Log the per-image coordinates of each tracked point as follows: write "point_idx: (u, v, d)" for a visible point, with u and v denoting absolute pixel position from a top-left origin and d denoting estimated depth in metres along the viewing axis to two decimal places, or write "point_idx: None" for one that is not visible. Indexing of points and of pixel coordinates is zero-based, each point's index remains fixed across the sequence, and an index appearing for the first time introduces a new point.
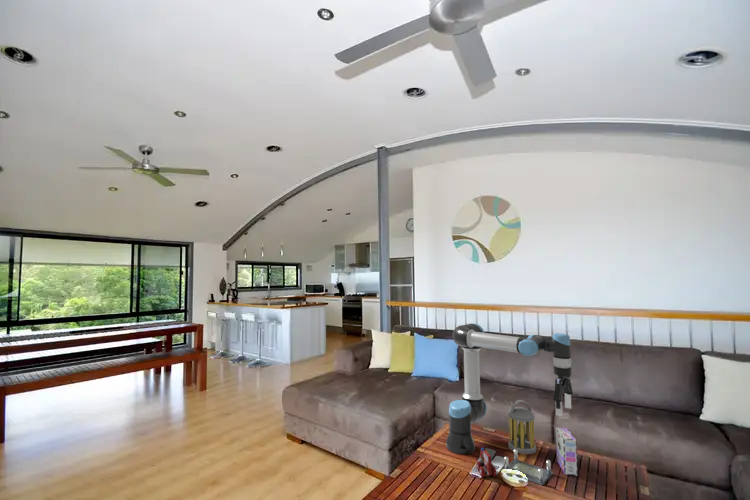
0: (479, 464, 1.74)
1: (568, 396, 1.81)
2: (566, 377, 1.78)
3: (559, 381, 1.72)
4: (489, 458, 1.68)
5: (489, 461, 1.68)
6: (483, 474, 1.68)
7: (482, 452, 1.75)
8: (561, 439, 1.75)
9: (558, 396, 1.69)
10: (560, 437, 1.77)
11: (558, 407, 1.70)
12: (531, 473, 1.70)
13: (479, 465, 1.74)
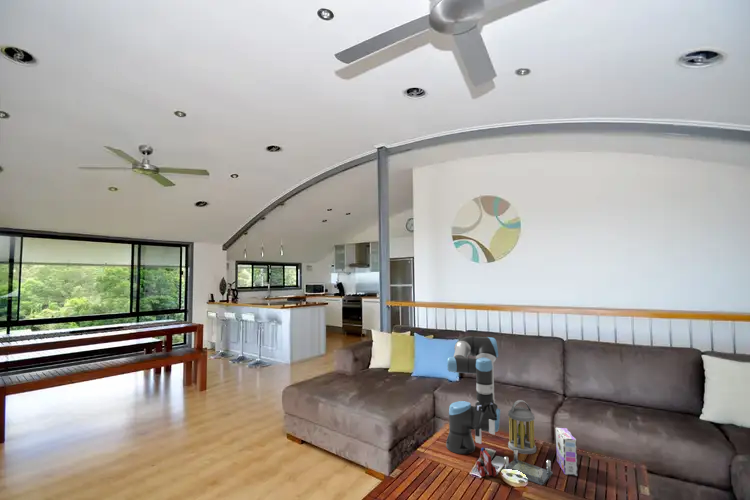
0: (479, 464, 1.74)
1: (492, 422, 1.79)
2: (488, 403, 1.76)
3: (479, 408, 1.70)
4: (489, 458, 1.68)
5: (489, 461, 1.68)
6: (483, 474, 1.68)
7: (482, 452, 1.75)
8: (561, 439, 1.75)
9: (476, 423, 1.67)
10: (560, 437, 1.77)
11: (477, 434, 1.68)
12: (531, 473, 1.70)
13: (479, 465, 1.74)
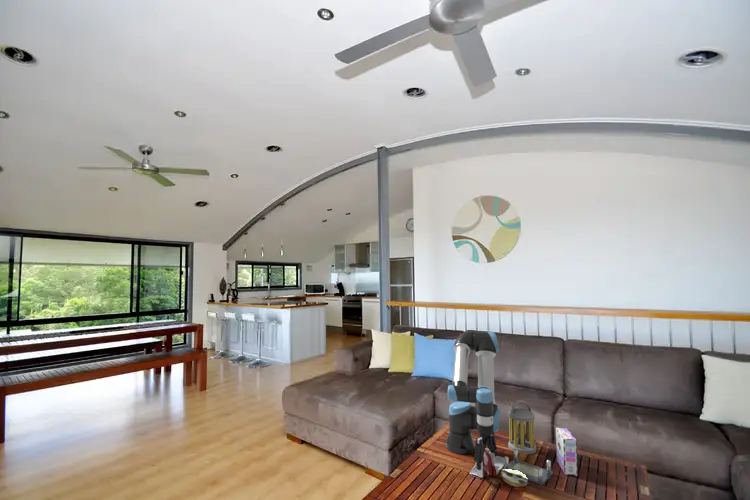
0: None
1: (492, 455, 1.77)
2: None
3: (479, 441, 1.69)
4: (489, 458, 1.68)
5: (489, 461, 1.68)
6: (483, 474, 1.68)
7: None
8: (561, 439, 1.75)
9: (478, 457, 1.67)
10: (560, 437, 1.77)
11: (478, 468, 1.68)
12: (531, 473, 1.70)
13: None
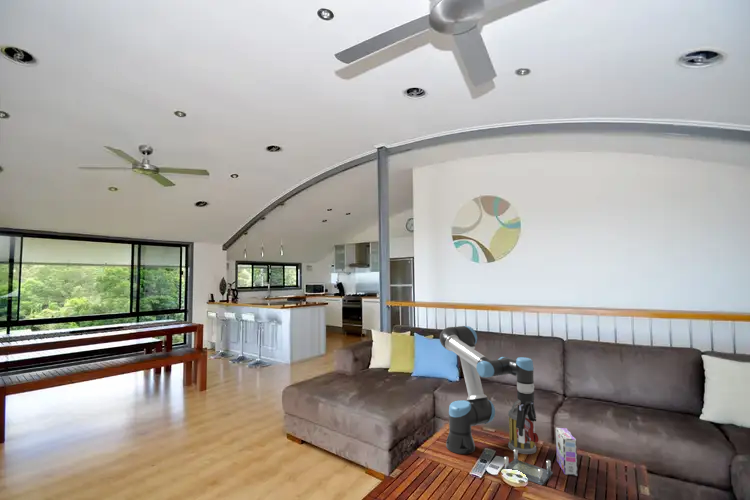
0: None
1: None
2: (529, 402, 1.76)
3: (521, 408, 1.70)
4: (531, 424, 1.69)
5: (531, 427, 1.69)
6: (525, 440, 1.70)
7: None
8: (561, 439, 1.75)
9: (520, 423, 1.68)
10: (560, 437, 1.77)
11: (520, 434, 1.69)
12: (531, 473, 1.70)
13: None
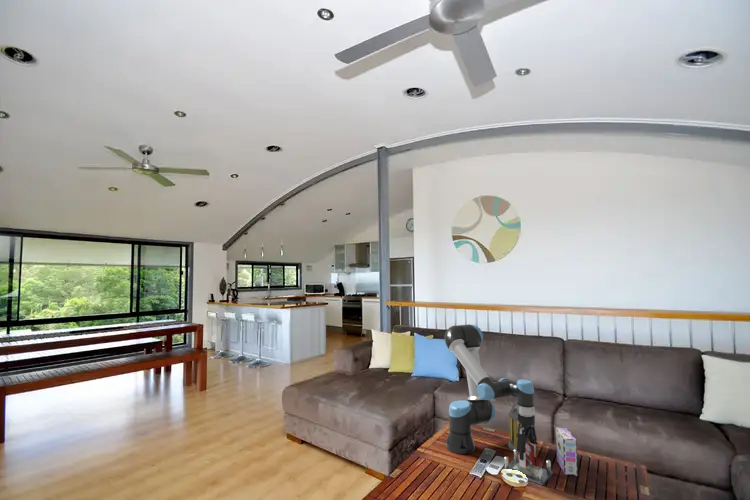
0: None
1: None
2: (530, 425, 1.76)
3: (522, 432, 1.70)
4: (532, 448, 1.68)
5: (532, 451, 1.68)
6: (526, 464, 1.69)
7: None
8: (561, 439, 1.75)
9: (521, 448, 1.68)
10: (560, 437, 1.77)
11: (521, 458, 1.69)
12: (531, 473, 1.70)
13: None
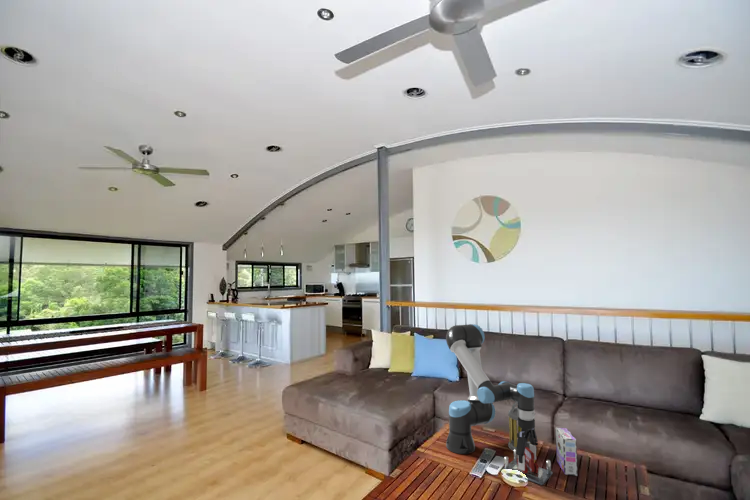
0: None
1: (533, 447, 1.78)
2: (530, 429, 1.76)
3: (522, 434, 1.69)
4: (532, 455, 1.68)
5: (532, 458, 1.68)
6: (526, 471, 1.69)
7: None
8: (561, 439, 1.75)
9: (520, 450, 1.67)
10: (560, 437, 1.77)
11: (520, 461, 1.68)
12: (531, 473, 1.70)
13: None
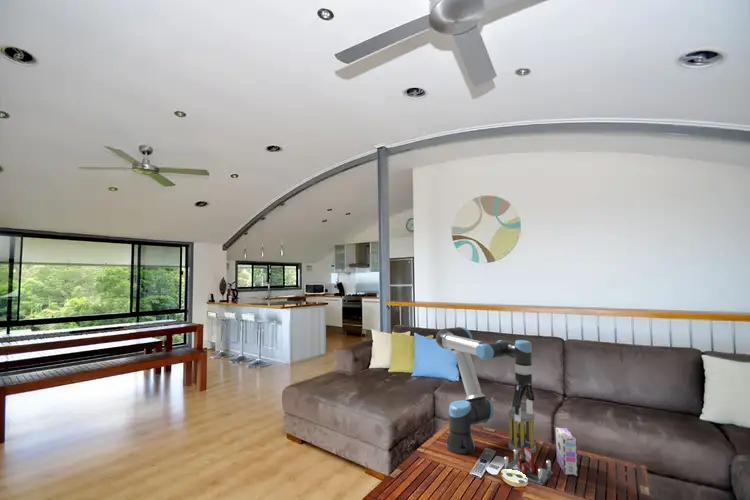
0: (520, 461, 1.75)
1: (529, 402, 1.83)
2: (527, 383, 1.80)
3: (518, 388, 1.74)
4: (532, 455, 1.68)
5: (532, 458, 1.68)
6: (526, 471, 1.69)
7: (523, 449, 1.76)
8: (561, 439, 1.75)
9: (516, 402, 1.72)
10: (560, 437, 1.77)
11: (517, 413, 1.73)
12: (531, 473, 1.70)
13: (520, 462, 1.75)
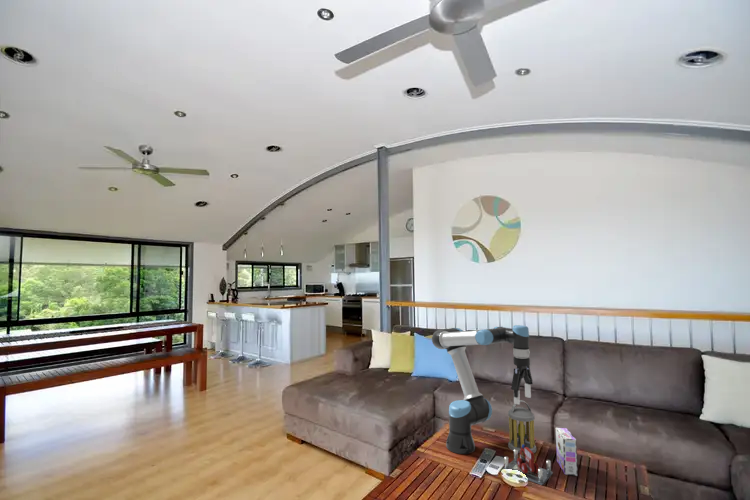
0: (520, 461, 1.75)
1: (528, 386, 1.87)
2: (525, 367, 1.85)
3: (517, 371, 1.78)
4: (532, 455, 1.68)
5: (532, 458, 1.68)
6: (526, 471, 1.69)
7: (523, 449, 1.76)
8: (561, 439, 1.75)
9: (515, 385, 1.76)
10: (560, 437, 1.77)
11: (516, 396, 1.77)
12: (531, 473, 1.70)
13: (520, 462, 1.75)
